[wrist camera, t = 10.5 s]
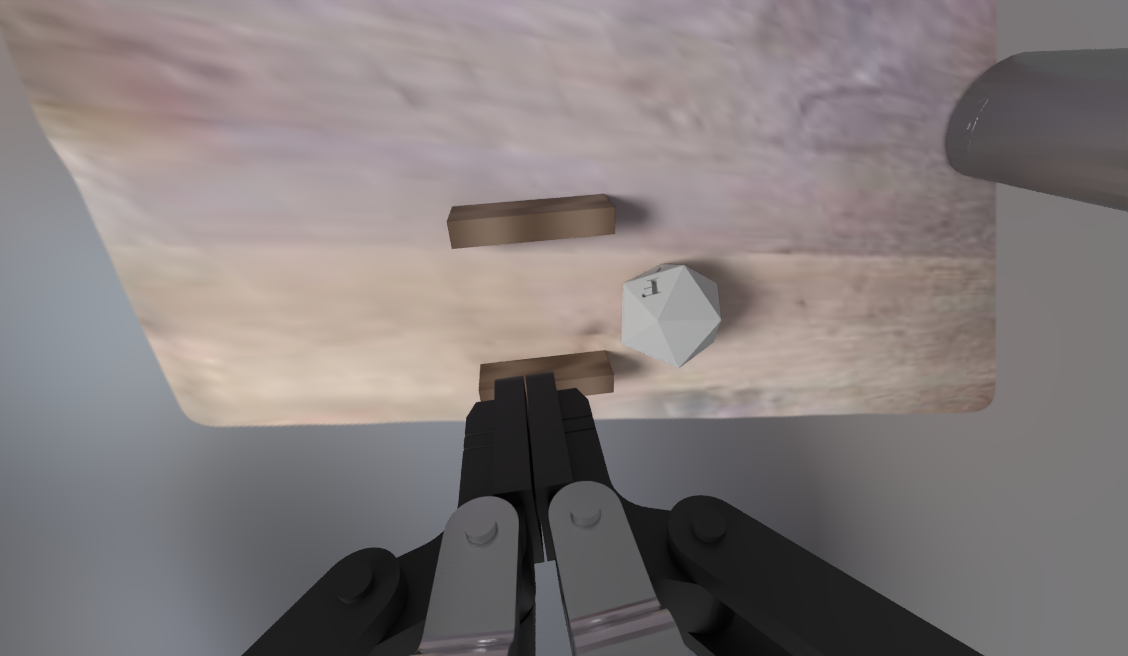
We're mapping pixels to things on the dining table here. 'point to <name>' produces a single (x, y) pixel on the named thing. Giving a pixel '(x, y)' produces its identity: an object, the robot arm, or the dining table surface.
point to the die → (670, 313)
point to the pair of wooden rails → (528, 226)
